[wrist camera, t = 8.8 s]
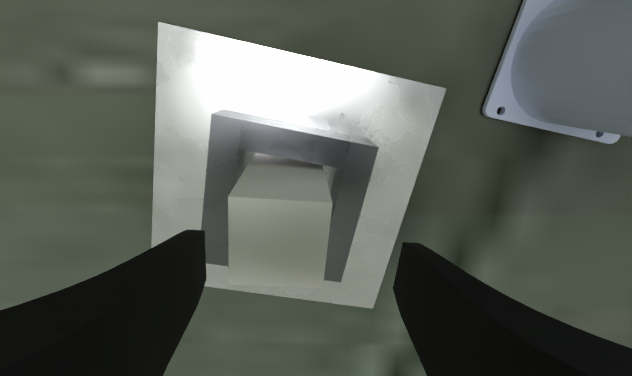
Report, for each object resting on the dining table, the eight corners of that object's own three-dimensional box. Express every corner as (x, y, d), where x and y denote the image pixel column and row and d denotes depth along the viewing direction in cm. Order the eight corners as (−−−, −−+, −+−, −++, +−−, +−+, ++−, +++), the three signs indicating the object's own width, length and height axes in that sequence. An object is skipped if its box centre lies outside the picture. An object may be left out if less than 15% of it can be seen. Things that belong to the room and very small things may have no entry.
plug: (320, 159, 18) (332, 202, 11) (314, 218, 19) (322, 287, 13) (254, 154, 18) (228, 196, 11) (253, 214, 19) (229, 284, 12)
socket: (438, 88, 18) (469, 89, 15) (369, 299, 23) (381, 335, 20) (166, 25, 16) (132, 10, 13) (157, 270, 21) (131, 304, 18)
